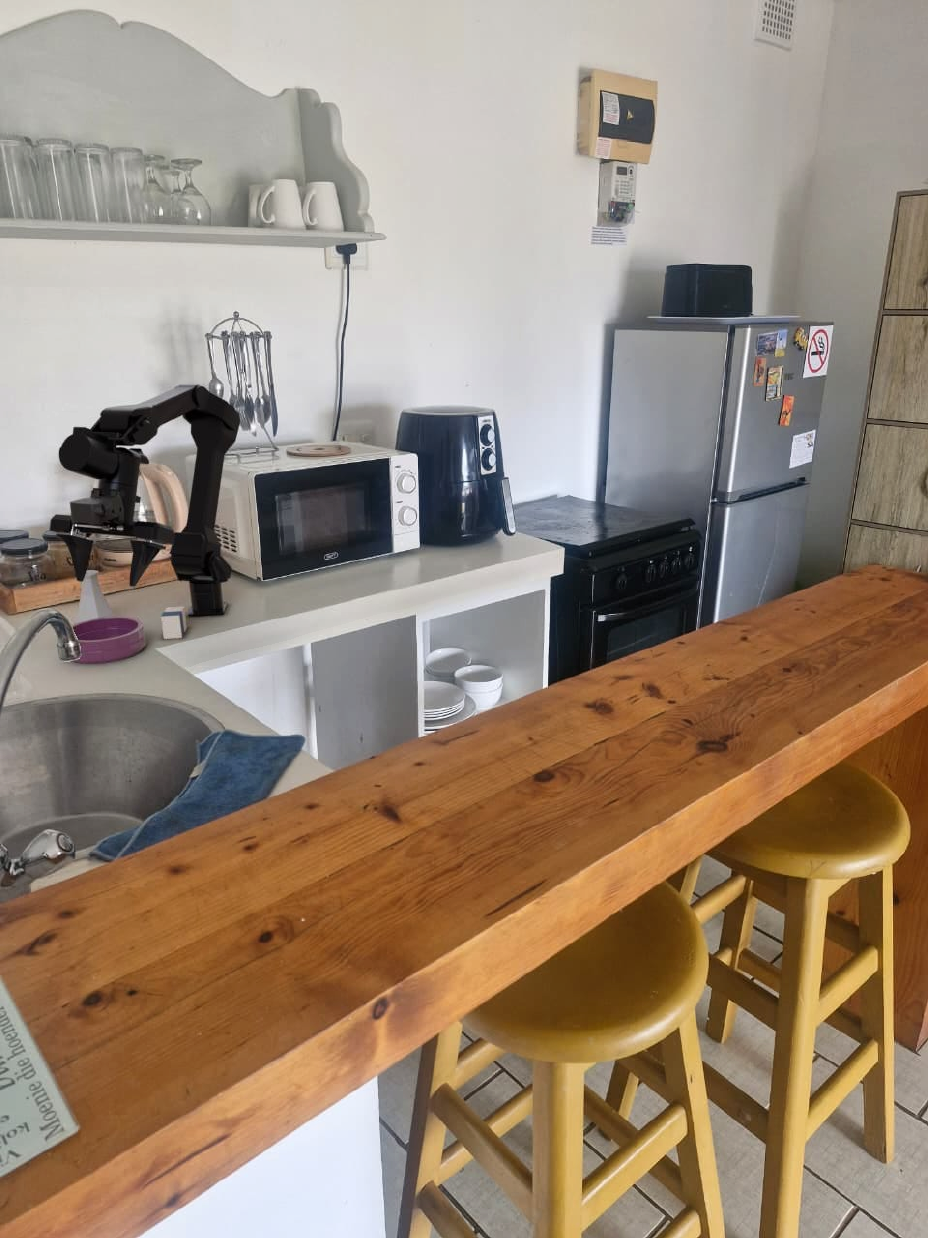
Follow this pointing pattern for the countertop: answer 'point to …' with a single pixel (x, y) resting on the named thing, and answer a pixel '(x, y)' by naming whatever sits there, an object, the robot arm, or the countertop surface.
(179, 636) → the eraser
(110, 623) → the bowl
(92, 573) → the flask
